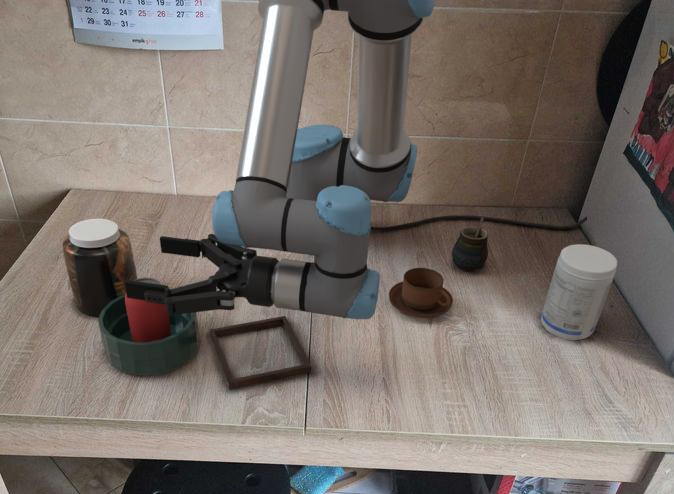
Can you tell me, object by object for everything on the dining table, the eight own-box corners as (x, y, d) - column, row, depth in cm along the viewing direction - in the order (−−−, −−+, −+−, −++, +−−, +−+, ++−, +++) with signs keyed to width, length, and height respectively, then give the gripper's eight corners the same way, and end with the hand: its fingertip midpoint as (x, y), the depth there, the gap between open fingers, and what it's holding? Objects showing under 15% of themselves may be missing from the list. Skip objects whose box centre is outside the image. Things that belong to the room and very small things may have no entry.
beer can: (164, 359, 108) (155, 300, 101) (127, 354, 109) (115, 295, 102) (178, 336, 113) (170, 278, 106) (142, 331, 114) (132, 273, 107)
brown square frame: (285, 322, 118) (285, 315, 117) (311, 372, 107) (311, 366, 106) (209, 336, 115) (209, 329, 114) (229, 389, 104) (228, 383, 103)
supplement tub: (567, 306, 124) (590, 238, 115) (605, 334, 117) (632, 264, 108) (528, 318, 121) (548, 249, 111) (564, 347, 114) (589, 277, 105)
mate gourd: (446, 271, 133) (454, 227, 127) (453, 253, 138) (461, 211, 132) (481, 279, 131) (491, 235, 125) (487, 261, 136) (497, 218, 130)
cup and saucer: (458, 297, 126) (463, 270, 122) (441, 331, 117) (446, 303, 113) (399, 282, 129) (402, 255, 125) (379, 313, 121) (382, 286, 117)
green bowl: (190, 314, 120) (186, 282, 115) (207, 367, 108) (204, 334, 104) (102, 329, 115) (94, 297, 111) (110, 386, 104) (103, 352, 99)
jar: (83, 324, 116) (65, 252, 107) (70, 292, 124) (52, 221, 115) (147, 308, 121) (136, 236, 111) (130, 277, 129) (118, 208, 119)
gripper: (255, 352, 91) (114, 331, 94) (294, 262, 110) (176, 247, 113) (253, 309, 86) (105, 288, 89) (294, 222, 105) (171, 208, 108)
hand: (144, 265), depth 101 cm, fingers open, 13 cm apart
